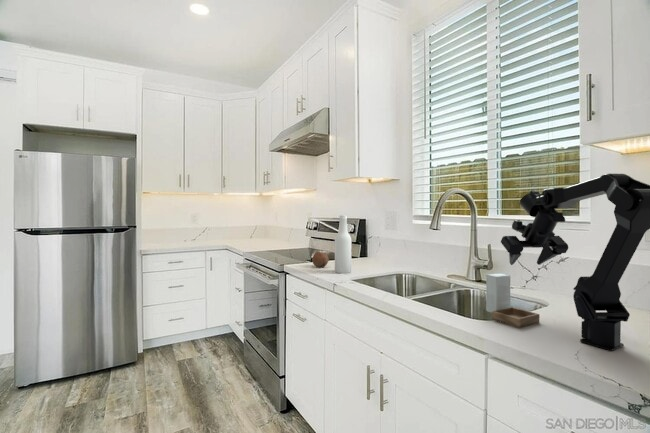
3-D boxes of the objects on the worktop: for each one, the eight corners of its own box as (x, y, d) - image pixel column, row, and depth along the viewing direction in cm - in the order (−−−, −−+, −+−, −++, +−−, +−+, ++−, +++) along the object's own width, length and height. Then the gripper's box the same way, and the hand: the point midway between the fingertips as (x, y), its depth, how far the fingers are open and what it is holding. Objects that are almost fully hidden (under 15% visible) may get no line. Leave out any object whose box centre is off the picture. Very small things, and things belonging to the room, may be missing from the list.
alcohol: (331, 271, 177) (331, 215, 177) (343, 270, 182) (344, 215, 182) (342, 274, 170) (342, 215, 170) (354, 272, 176) (355, 215, 175)
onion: (314, 271, 194) (307, 256, 196) (328, 266, 198) (321, 250, 200) (318, 268, 185) (312, 251, 187) (333, 262, 189) (326, 246, 191)
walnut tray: (539, 322, 97) (539, 314, 97) (519, 328, 92) (519, 319, 92) (512, 314, 104) (512, 306, 104) (491, 319, 100) (492, 311, 100)
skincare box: (499, 309, 110) (499, 272, 110) (510, 312, 106) (511, 275, 106) (485, 311, 108) (485, 274, 108) (496, 314, 104) (496, 276, 104)
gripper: (556, 211, 109) (538, 248, 118) (500, 211, 108) (486, 248, 117) (579, 232, 100) (557, 270, 108) (518, 232, 99) (501, 270, 108)
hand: (524, 264), depth 111 cm, fingers open, 9 cm apart
